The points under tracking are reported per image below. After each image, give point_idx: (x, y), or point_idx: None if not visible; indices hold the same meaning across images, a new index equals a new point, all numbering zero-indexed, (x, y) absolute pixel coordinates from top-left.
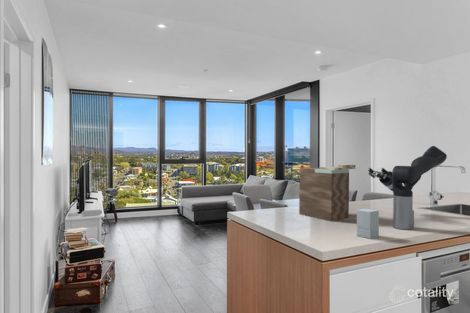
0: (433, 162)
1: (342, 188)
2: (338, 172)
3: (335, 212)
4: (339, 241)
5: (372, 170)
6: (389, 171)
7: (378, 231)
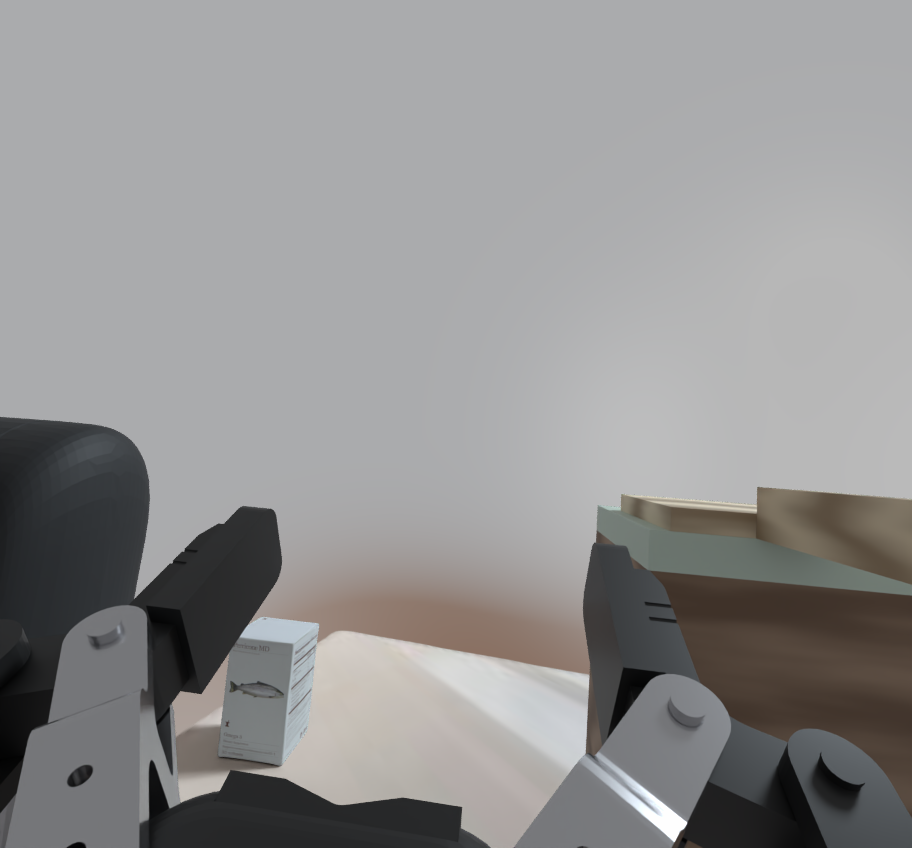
0: None
1: None
2: (611, 534)
3: None
4: (337, 674)
5: (611, 659)
6: (22, 631)
7: (221, 730)
